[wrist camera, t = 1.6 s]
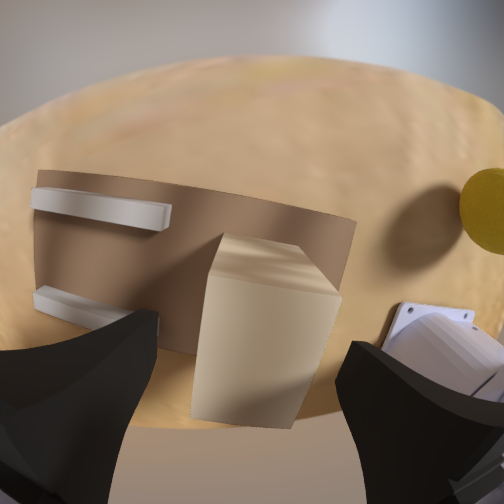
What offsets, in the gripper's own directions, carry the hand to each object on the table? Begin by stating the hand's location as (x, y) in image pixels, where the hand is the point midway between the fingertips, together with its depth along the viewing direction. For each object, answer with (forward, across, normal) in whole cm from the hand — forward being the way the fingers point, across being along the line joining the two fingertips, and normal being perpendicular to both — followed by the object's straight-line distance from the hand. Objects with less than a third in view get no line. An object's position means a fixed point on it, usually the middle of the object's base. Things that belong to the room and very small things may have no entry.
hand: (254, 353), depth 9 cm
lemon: (+7, -15, -8) cm, 18 cm away
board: (+7, +5, 0) cm, 9 cm away
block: (+6, 0, 0) cm, 6 cm away
